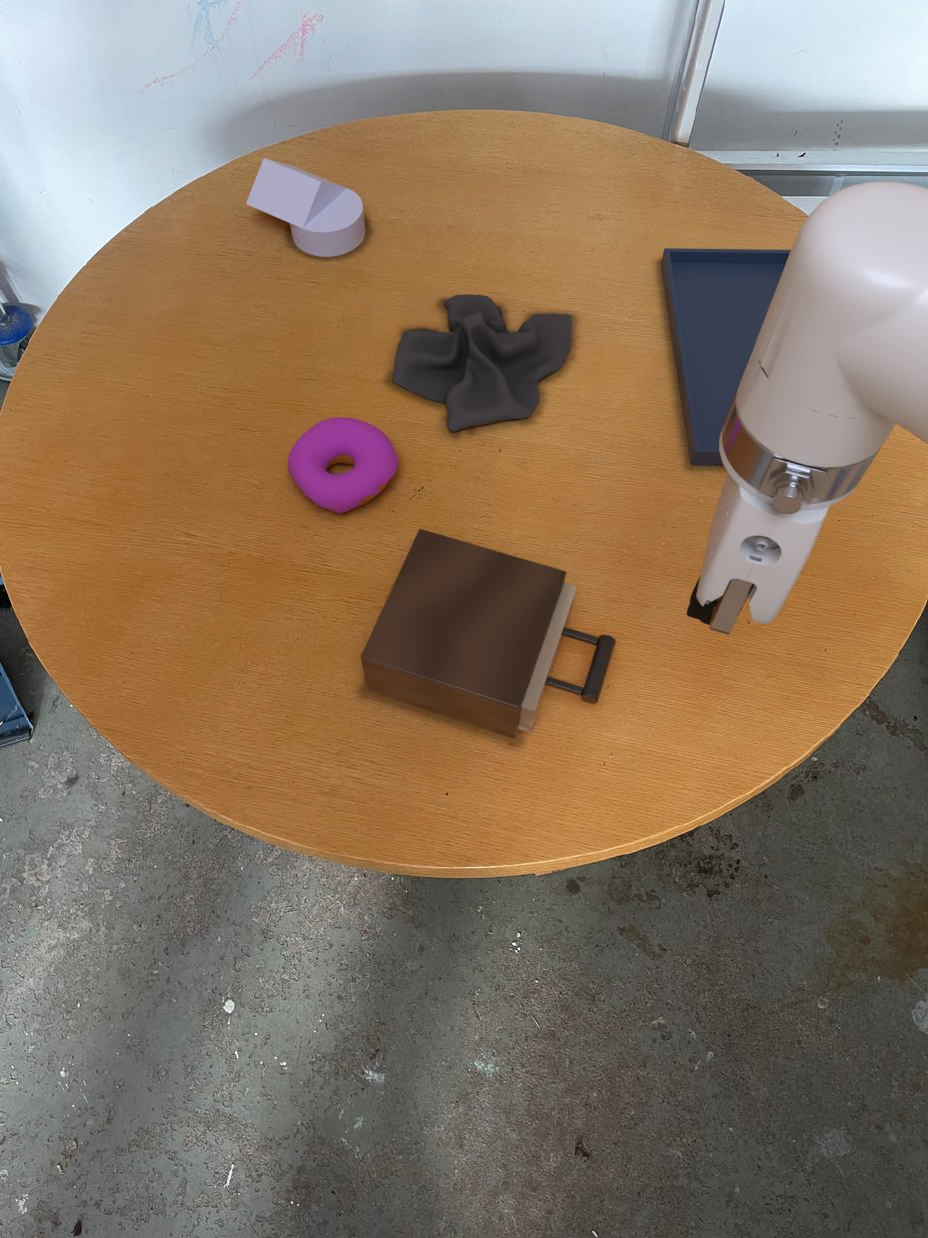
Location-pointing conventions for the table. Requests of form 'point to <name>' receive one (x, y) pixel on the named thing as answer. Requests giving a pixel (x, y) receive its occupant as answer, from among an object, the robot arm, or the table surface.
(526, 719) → the drawer
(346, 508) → the donut
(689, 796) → the table surface
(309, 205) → the wedge on round base
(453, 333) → the cloth
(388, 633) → the cabinet
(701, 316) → the tray
